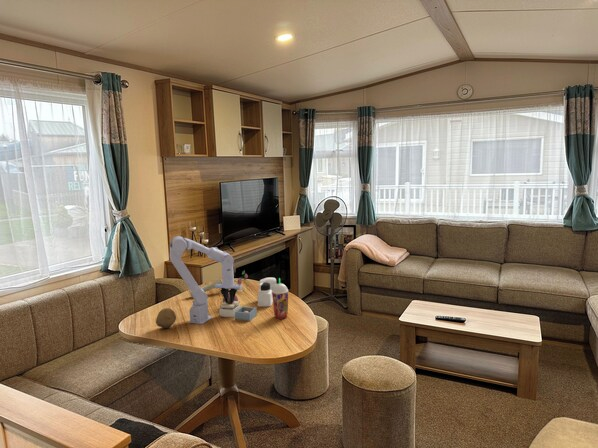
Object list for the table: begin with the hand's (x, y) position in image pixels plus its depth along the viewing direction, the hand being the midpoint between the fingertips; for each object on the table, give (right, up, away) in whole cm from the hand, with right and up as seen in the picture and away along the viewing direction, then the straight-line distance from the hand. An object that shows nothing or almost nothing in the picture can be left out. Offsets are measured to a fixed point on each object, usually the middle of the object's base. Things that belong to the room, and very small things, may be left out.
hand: (229, 302), depth 210 cm
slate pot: (+9, -7, -4) cm, 12 cm away
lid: (0, -2, 0) cm, 2 cm away
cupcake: (-4, -2, +14) cm, 15 cm away
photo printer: (+18, -3, +23) cm, 30 cm away
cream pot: (0, -6, +1) cm, 6 cm away
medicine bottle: (+17, -4, +14) cm, 23 cm away
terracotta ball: (+9, -5, -4) cm, 11 cm away
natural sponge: (-27, -10, -15) cm, 33 cm away
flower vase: (-12, -2, +36) cm, 38 cm away
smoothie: (+27, -6, -5) cm, 28 cm away
